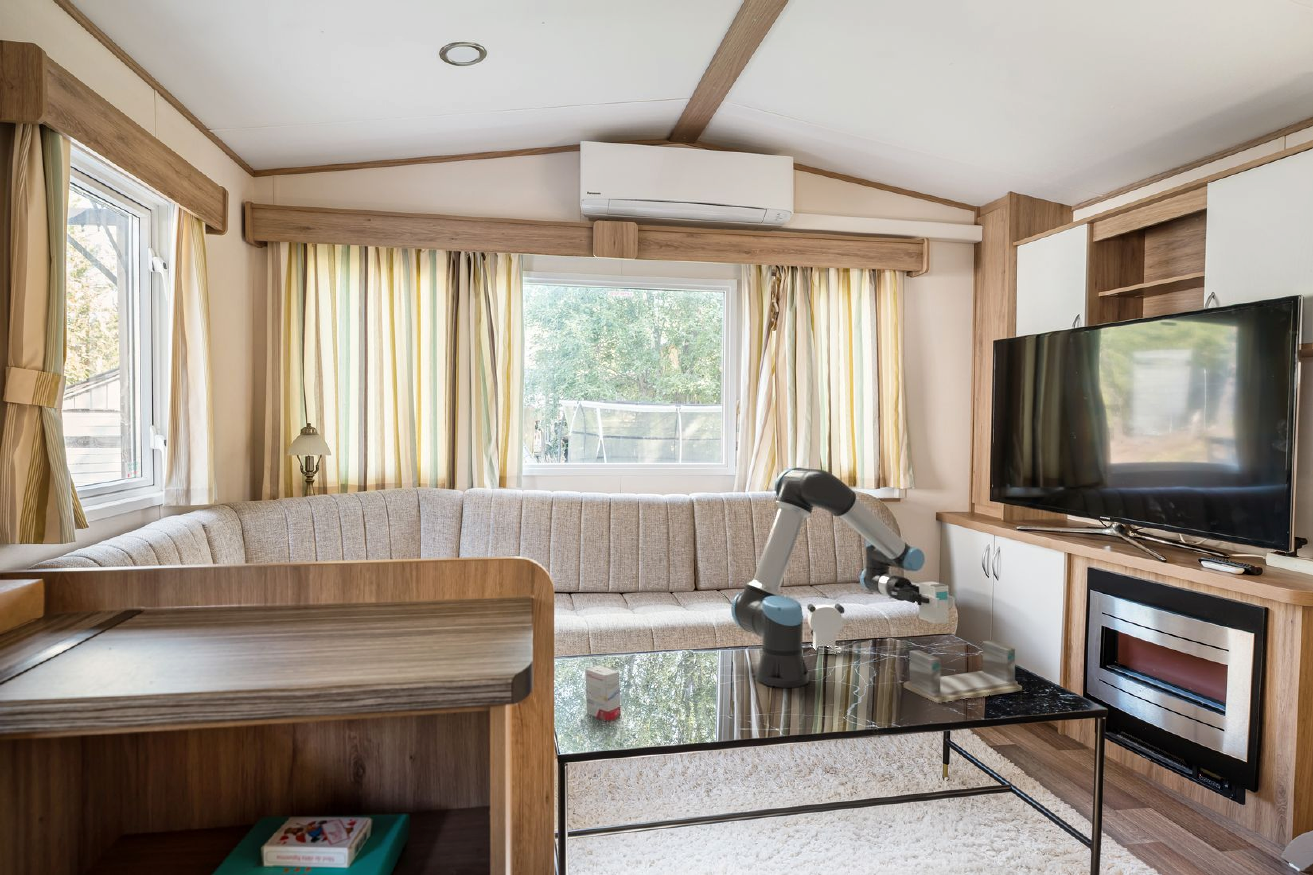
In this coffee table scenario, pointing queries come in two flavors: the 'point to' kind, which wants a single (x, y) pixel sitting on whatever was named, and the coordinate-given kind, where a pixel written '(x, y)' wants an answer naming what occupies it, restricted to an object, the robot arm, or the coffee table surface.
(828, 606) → the panda figurine
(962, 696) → the board
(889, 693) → the coffee table surface
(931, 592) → the block
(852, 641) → the coffee table surface
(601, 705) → the ink box
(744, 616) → the robot arm
